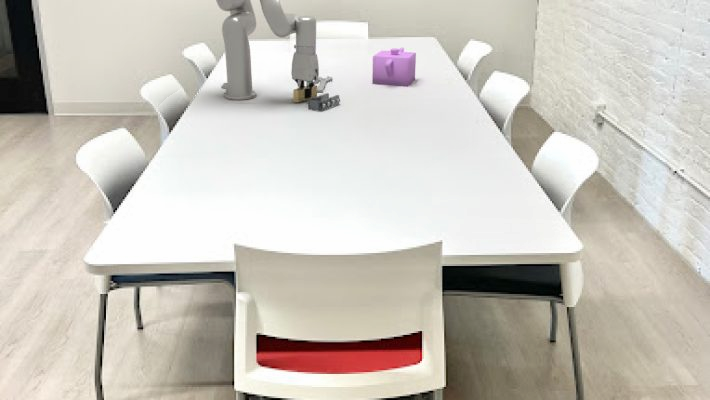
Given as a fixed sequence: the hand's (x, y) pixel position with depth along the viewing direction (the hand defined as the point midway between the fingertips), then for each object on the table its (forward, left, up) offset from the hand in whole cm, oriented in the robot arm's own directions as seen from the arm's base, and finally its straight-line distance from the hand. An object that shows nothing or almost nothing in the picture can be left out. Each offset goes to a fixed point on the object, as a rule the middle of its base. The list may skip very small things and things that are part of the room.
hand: (305, 97), depth 291 cm
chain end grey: (+11, 0, -1) cm, 11 cm away
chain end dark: (+11, -7, -1) cm, 13 cm away
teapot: (+12, +46, -2) cm, 48 cm away
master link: (0, 0, -1) cm, 1 cm away
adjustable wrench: (-8, +22, -2) cm, 24 cm away
